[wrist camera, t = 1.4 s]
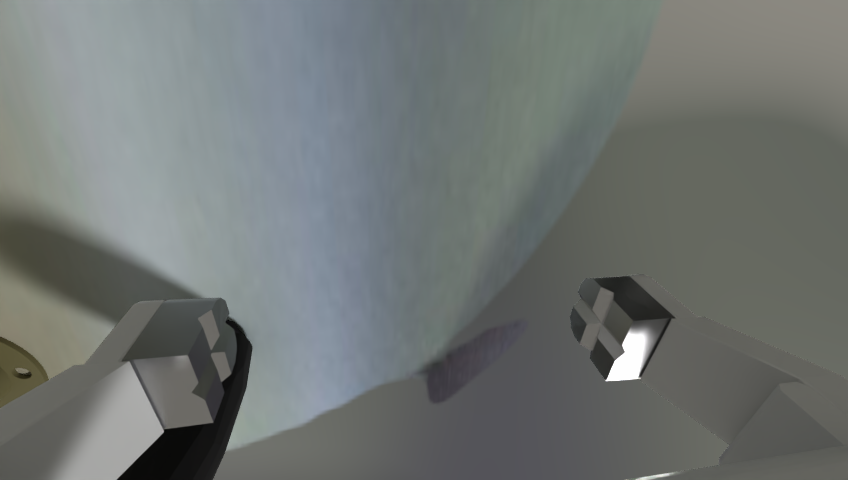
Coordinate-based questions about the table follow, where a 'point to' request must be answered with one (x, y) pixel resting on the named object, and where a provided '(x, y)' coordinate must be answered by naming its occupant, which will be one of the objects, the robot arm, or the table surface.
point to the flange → (6, 382)
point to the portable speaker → (197, 433)
